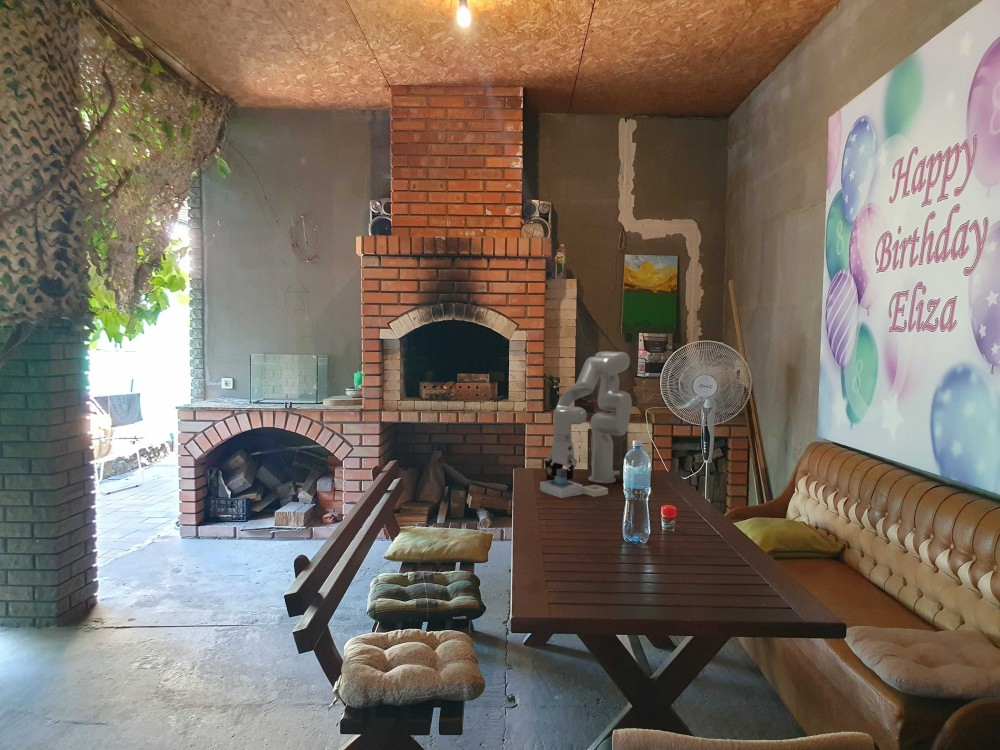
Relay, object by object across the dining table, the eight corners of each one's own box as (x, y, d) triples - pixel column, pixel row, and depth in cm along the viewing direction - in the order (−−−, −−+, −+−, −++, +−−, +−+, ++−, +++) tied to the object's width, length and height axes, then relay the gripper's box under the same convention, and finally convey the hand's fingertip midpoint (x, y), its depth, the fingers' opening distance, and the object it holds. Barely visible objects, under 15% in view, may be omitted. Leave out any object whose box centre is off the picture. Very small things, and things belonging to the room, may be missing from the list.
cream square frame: (594, 490, 278) (595, 484, 278) (608, 494, 271) (608, 488, 271) (581, 492, 273) (581, 487, 273) (594, 496, 267) (594, 490, 266)
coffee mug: (540, 479, 297) (541, 458, 296) (556, 478, 300) (557, 457, 300) (553, 485, 286) (553, 463, 286) (569, 483, 290) (570, 461, 289)
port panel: (561, 487, 282) (561, 477, 282) (582, 494, 271) (582, 484, 271) (539, 491, 275) (540, 481, 275) (561, 498, 264) (561, 487, 264)
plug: (561, 491, 276) (562, 468, 275) (567, 493, 273) (568, 469, 272) (554, 492, 274) (554, 469, 273) (560, 494, 270) (561, 470, 270)
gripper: (582, 439, 267) (582, 479, 268) (555, 433, 281) (555, 472, 282) (569, 441, 263) (569, 482, 264) (542, 435, 277) (542, 474, 278)
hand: (562, 477), depth 273 cm, fingers open, 9 cm apart
